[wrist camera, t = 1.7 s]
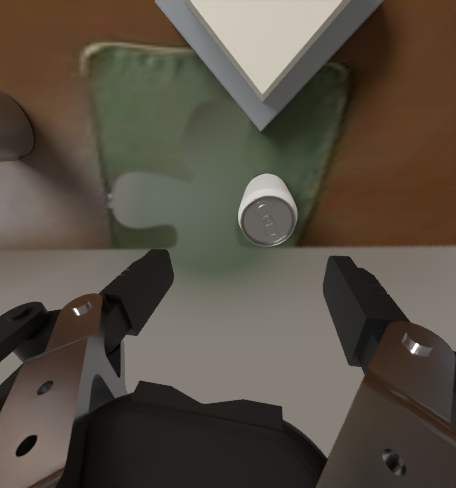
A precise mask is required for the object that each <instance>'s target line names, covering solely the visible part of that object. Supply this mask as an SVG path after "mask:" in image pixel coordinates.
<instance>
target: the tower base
mask: <svg viewBox="0 0 456 488" xmlns="http://www.w3.org/2000/svg"><path fill="white" fill-rule="evenodd" d="M383 1H384V0H155V2H156V4H157V5H158V6H159V8H160V9H161V10H162V12H163V13H164V14H165V15H166V17H167V18H168V19H169V21H170V22H171V23H172V24H173V26H174V27H175V28H176V29H177V31H178V32H179V33H180V34H181V36H182V37H183V38H184V39H185V40H186V42H187V43H188V44H189V45H190V47H191V48H192V49H193V50H194V51H195V53H196V54H197V55H198V56H199V58H200V59H201V60H202V61H203V62H204V64H205V65H206V66H207V67H208V69H209V70H210V71H211V72H212V74H213V75H214V76H215V77H216V78H217V80H218V81H219V82H220V83H221V85H222V86H223V87H224V88H225V89H226V91H227V92H228V93H229V94H230V96H231V97H232V98H233V99H234V100H235V102H236V103H237V104H238V105H239V107H240V108H241V109H242V110H243V112H244V113H245V114H246V115H247V116H248V118H249V119H250V120H251V121H252V123H253V124H254V125H255V126H256V127H257V129H258V130H259V131H260V132H262V131H263V130H264V129H265V128H266V127H267V125H268V124H269V123H270V122H271V121H272V120H273V119H274V118H275V117H276V116H277V115H278V114H279V113H280V112H281V111H282V109H283V108H284V107H285V106H286V105H287V104H288V103H289V102H290V101H291V100H292V99H293V98H294V97H295V96H296V94H297V93H298V92H299V91H300V90H301V89H302V88H303V87H304V86H305V85H306V84H307V83H308V82H309V81H310V80H311V78H312V77H313V76H314V75H315V74H316V73H317V72H318V71H319V70H320V69H321V68H322V67H323V66H324V65H325V63H326V62H327V61H328V60H329V59H330V58H331V57H332V56H333V55H334V54H335V53H336V52H337V51H338V50H339V49H340V47H341V46H342V45H343V44H344V43H345V42H346V41H347V40H348V39H349V38H350V37H351V36H352V35H353V34H354V32H355V31H356V30H357V29H358V28H359V27H360V26H361V25H362V24H363V23H364V22H365V21H366V20H367V19H368V18H369V16H370V15H371V14H372V13H373V12H374V11H375V10H376V9H377V8H378V7H379V6H380V5H381V4H382V2H383Z"/></svg>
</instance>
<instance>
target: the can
mask: <svg viewBox="0 0 456 488" xmlns="http://www.w3.org/2000/svg"><path fill="white" fill-rule="evenodd" d="M238 220H239V225H240V227H241V229H242V232H243V234H244V235H245V237H246V238H247V239H248V240H249V241H251V242H252V243H254V244H256V245H259V246H263V247H271V246H276V245H279V244H281V243H283V242H284V241H286V240H287V239H288V238H289V237H290V236H291V234H292V233H293V231H294V228H295V225H296V222H297V207H296V204H295V202H294V200H293V198H292V196H291V194H290V192H289V190H288V189H287V187H286V185H285V183H284V182H283V181H282V180H281V179H280V178H279V177H277V176H275V175H272V174H262V175H259V176H257V177H255V178H254V179H253V180H252V181H251V182H250V183H249V184H248V186H247V188H246V190H245V193H244V196H243V199H242V202H241V205H240V208H239V213H238Z"/></svg>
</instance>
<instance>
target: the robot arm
mask: <svg viewBox="0 0 456 488" xmlns="http://www.w3.org/2000/svg"><path fill="white" fill-rule="evenodd" d="M33 146H34V135H33V131H32V127H31V125H30V123H29V120H28V118H27V117H26V115H25V113H24V112H23V111H22V109H21V108H20V107H19V105H18V104H17V103H16V102H15V101H14V100H13V99H11V98H10V97H9V96H7V95H6V94H4V93H2V92H0V162H3V161H16V160H19V158H20V156H24V155H27V154H29V153H30V152H31V150H32V148H33ZM173 279H174V273H173V269H172V265H171V260H170V257H169V252H168V251H167V250H166V249H151V250H150V251H149V252H148V253H147V254H146V255H145V256H143V257H142V258H141V259H139V260H137V261H135V262H133V263H132V264H131V265H130V266H129V267H128V268H127V269H126V270H125V271H123V272H122V273H121V275H119V276H118V277H117V278H115V279H114V280H113V281H112V282H111V283H110V284H109V285H108V286H106V287H105V288H104V289H103V290H102V291H101V292H100V293H99V294H95V293H93V294H87V295H83V296H81V297H78V298H76V299H74V300H72V301H71V302H69V303H68V304H67V305H66V306H65V307H64V308H62V309H60V310H54V311H47V310H46V309H45V307H44V305H43V304H42V303H41V302H30V303H26V304H23V305H20V306H18V307H15V308H13V309H11V310H10V311H8V312H6V313H5V314H3V315H1V316H0V362H1V361H2V360H3V359H4V358H5V357H7V356H8V355H9V354H10V353H11V352H12V351H13V352H14V353H15V354H16V355H17V356H18V357H19V359H20V360H21V361H22V362H23V364H22V365H21V366H20V367H19V368H18V369H17V370H16V371H14V372H13V373H12V374H11V375H10V376H9V377H8V378H7V379H6V380H5V381H4V382H3V383H2V384H1V385H0V488H456V352H455V351H453V350H452V349H451V347H450V346H449V345H448V344H447V343H446V342H445V341H444V340H443V339H442V338H440V337H439V336H438V335H436V334H435V333H433V332H432V331H430V330H428V329H426V328H424V327H422V326H419V325H417V324H413V323H411V322H410V321H409V320H408V318H407V317H406V316H405V314H403V312H402V311H401V309H400V308H399V307H398V306H397V304H396V303H395V302H394V301H393V299H392V298H391V297H390V295H389V294H387V292H386V290H385V289H384V288H383V287H382V286H381V284H380V283H379V281H378V280H377V279H376V278H375V276H374V275H372V274H371V273H369V272H368V271H366V270H365V269H363V268H357V266H356V265H355V264H354V262H353V261H352V259H351V258H350V257H349V256H330V257H329V259H328V263H327V267H326V272H325V277H324V282H323V294H324V298H325V300H326V303H327V306H328V309H329V311H330V314H331V317H332V319H333V323H334V325H335V328H336V331H337V334H338V336H339V339H340V342H341V345H342V347H343V350H344V353H345V356H346V359H347V361H348V364H349V365H350V366H357V367H362V370H363V372H364V375H365V376H364V378H363V380H362V382H361V385H360V387H359V389H358V391H357V393H356V396H355V398H354V400H353V403H352V405H351V407H350V409H349V412H348V414H347V416H346V418H345V421H344V423H343V425H342V427H341V429H340V432H339V434H338V436H337V438H336V440H335V443H334V445H333V447H332V450H331V452H330V454H329V456H328V458H326V456H325V455H324V454H323V453H322V451H321V450H320V449H319V448H318V447H317V446H316V445H315V444H314V443H313V442H312V441H311V440H310V439H309V438H308V437H307V436H306V435H305V434H303V433H302V432H301V431H300V430H299V429H297V428H296V427H294V426H293V425H291V424H290V423H288V422H286V421H284V420H283V418H282V406H277V405H271V404H266V403H260V402H255V401H249V400H244V399H242V400H234V401H226V402H218V403H210V404H202V403H199V402H198V401H196V400H194V399H192V398H191V397H189V396H187V395H185V394H184V393H182V392H180V391H179V390H177V389H175V388H173V387H172V386H167V385H162V384H156V383H151V382H145V381H139V384H138V385H137V387H136V389H135V391H134V393H130V394H127V391H126V386H125V356H124V355H125V352H124V342H123V338H124V337H125V335H133V336H137V335H138V334H139V332H140V331H141V329H142V328H143V326H144V325H145V324H146V322H147V321H148V319H149V318H150V316H151V315H152V313H153V312H154V310H155V309H156V307H157V306H158V304H159V303H160V301H161V300H162V298H163V297H164V295H165V294H166V292H167V291H168V289H169V288H170V287H171V285H172V283H173Z"/></svg>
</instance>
